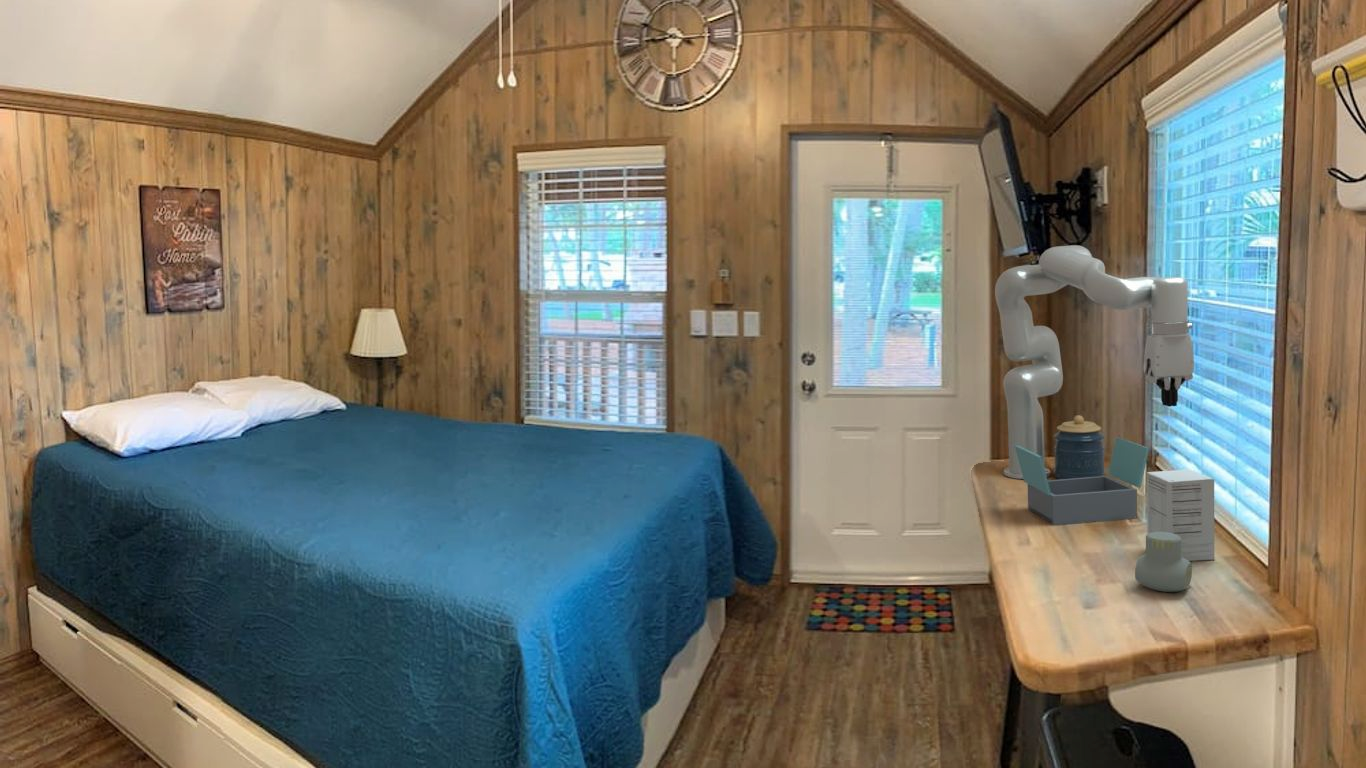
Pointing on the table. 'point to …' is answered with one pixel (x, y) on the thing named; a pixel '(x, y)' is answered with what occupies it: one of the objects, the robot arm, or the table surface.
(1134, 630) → the table surface
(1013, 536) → the table surface
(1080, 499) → the box
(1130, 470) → the flap
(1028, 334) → the robot arm
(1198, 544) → the supplement box
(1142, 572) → the air freshener
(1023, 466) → the flap
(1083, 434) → the canister
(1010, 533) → the table surface
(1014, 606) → the table surface
